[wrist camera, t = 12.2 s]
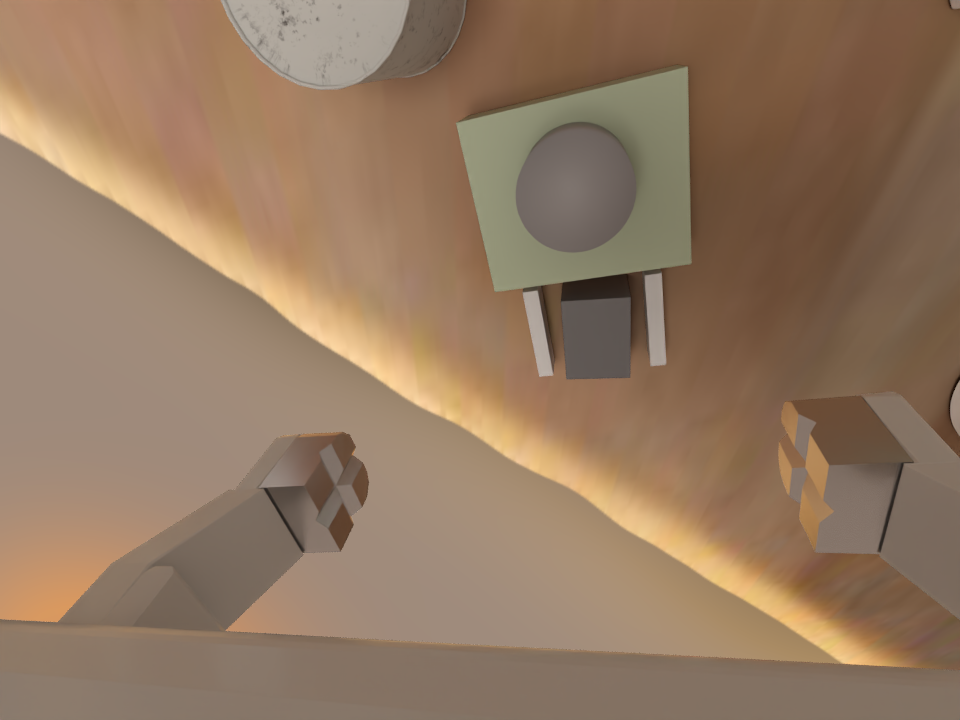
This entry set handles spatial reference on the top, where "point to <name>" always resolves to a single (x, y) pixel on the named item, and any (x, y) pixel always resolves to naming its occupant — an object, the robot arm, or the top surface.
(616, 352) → the dark grey box
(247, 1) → the grey concrete cylinder
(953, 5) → the syrup box
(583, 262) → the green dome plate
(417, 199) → the top surface
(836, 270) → the top surface
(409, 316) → the top surface
